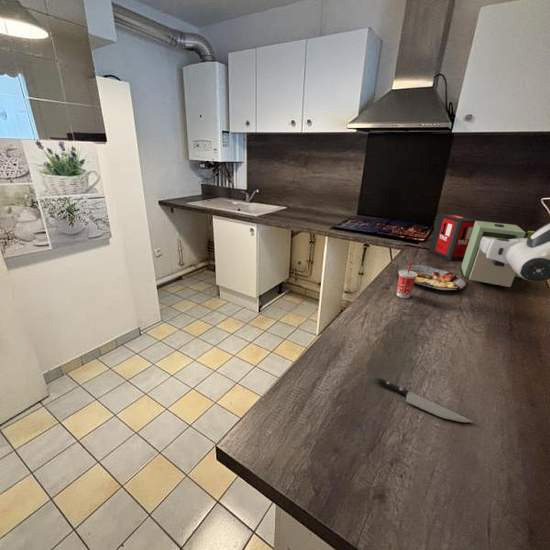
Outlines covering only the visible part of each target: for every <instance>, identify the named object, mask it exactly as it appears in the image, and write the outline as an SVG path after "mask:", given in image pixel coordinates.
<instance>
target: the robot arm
mask: <svg viewBox="0 0 550 550" xmlns="http://www.w3.org/2000/svg"><path fill="white" fill-rule="evenodd" d="M534 231H535V232H533V233H532V234H531V235H530V236H529V238H528V239H527V237H524V238H521V239H500V238H490V237H482V239H481V241H480V245H479V247H480V249H481V251H482V252H483V253H485V254H487V255H486V257H487V258H488V259H492V260H496V261H499V262H503V263H505V264H507V265H510V266H511V267H512V269H513V270H514V271H515V272H516V274H518V275H519V276H520V277H522V278H521V279H523V280H525V281H527V282H528V281H529V282H534V283H535V282H536V283H542V282H546V281H549V280H550V222H548V223H545V224H543V225H542V226H540V227H539V228H537V229H536V230H534ZM520 277H519V278H520Z"/></svg>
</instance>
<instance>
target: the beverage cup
mask: <svg viewBox="0 0 550 550" xmlns="http://www.w3.org/2000/svg"><path fill="white" fill-rule="evenodd" d="M412 262H413V260H412V259H410V261H409V269H408V270H400V271H399V273H398V281H397V289H396V296H397V297H399V298H401V299H409V298H411V294H412V291H413V288H414V285H415V283H414V282H415V279H416V278H417V273H415V272H413V271H410V267H411V266H412Z"/></svg>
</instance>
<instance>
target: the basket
mask: <svg viewBox="0 0 550 550" xmlns="http://www.w3.org/2000/svg"><path fill="white" fill-rule="evenodd" d="M483 237H484V236H483ZM490 238H492V237H490ZM486 255H487V254H485V253H483V252H482V251H481V249H480V247H478V250H477V253H476V256H475V259H474V262H473V265H472V268H471V271H470V272H471V274H470V277H469V278H468V280H469V281H474V282H480V283H486V284H491V285H497V286H500V287H501V286H502V287H508V288H511V287H512V284H513V282H514V279H515V278H516V277H515V274H516V272H515V271H514V270H513V269H512V267H511V266H510V265H507V264H505V263H503V262H499V261H496V260H492V259H488V258H487V257H486Z"/></svg>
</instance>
